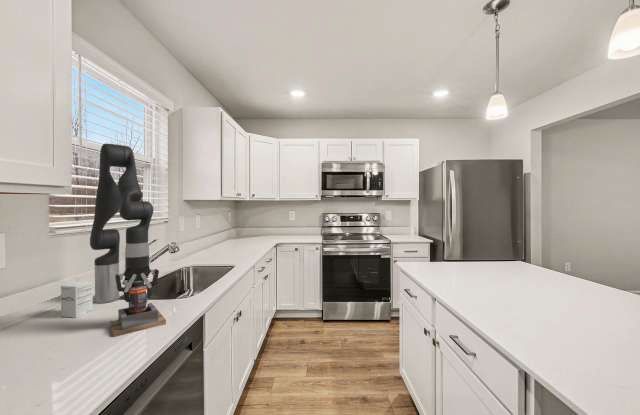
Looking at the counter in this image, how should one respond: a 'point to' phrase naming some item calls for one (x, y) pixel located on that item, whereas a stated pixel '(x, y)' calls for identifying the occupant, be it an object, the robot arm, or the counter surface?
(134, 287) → the supplement bottle
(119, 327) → the socket stand
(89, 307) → the supplement box
